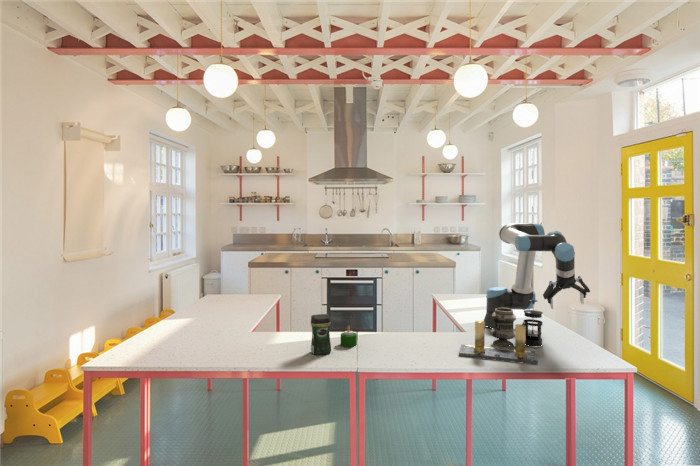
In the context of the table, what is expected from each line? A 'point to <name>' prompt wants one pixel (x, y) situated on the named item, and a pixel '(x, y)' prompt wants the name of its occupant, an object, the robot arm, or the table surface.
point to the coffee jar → (320, 334)
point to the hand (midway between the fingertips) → (566, 304)
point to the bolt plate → (504, 350)
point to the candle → (348, 338)
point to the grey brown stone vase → (503, 326)
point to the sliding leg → (479, 336)
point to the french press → (532, 339)
